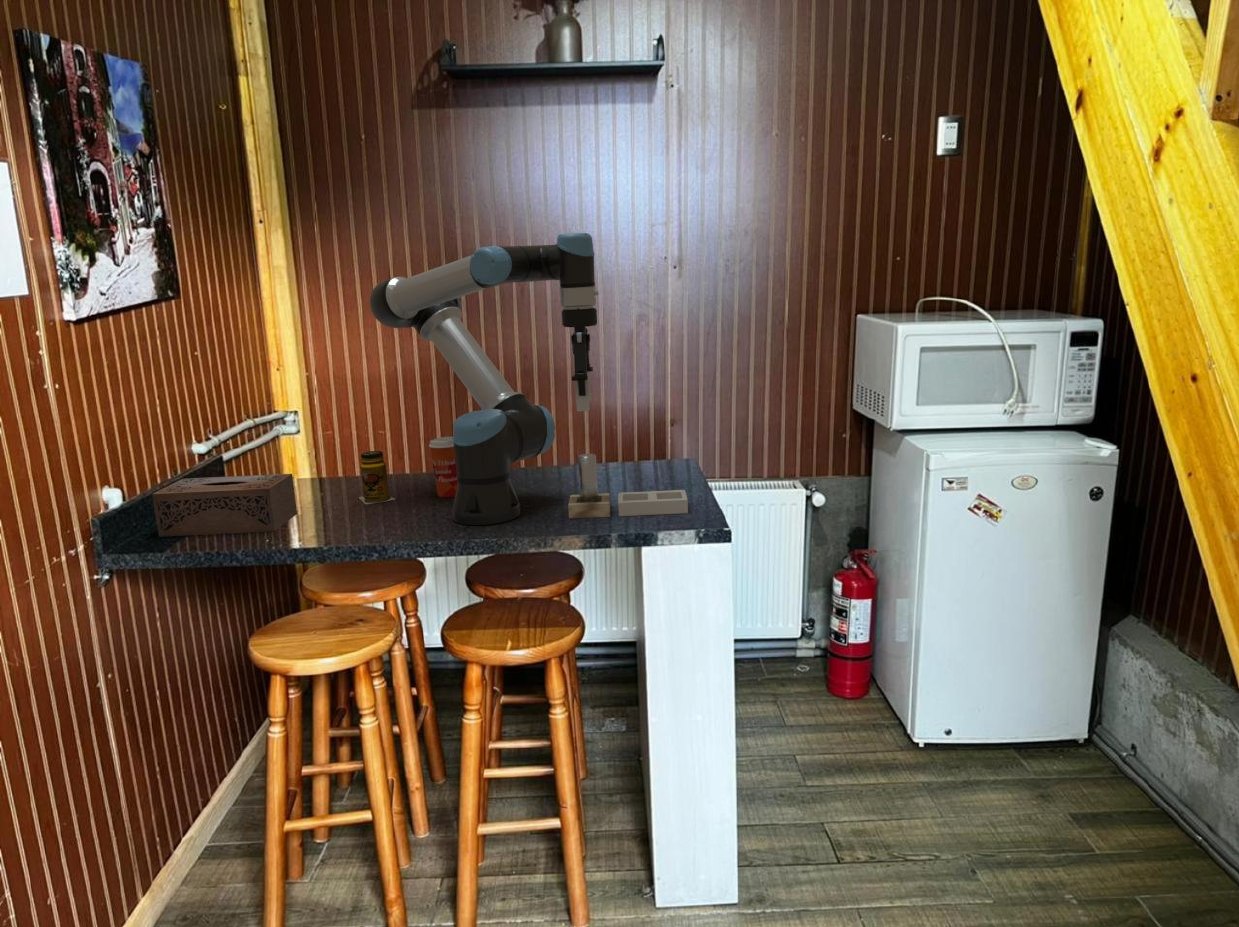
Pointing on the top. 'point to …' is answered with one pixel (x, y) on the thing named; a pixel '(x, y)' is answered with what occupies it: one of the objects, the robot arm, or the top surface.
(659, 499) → the rack
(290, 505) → the tissue box cover
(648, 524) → the top surface
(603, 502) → the socket block
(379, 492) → the condiment
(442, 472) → the paper cup
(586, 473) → the grey peg
